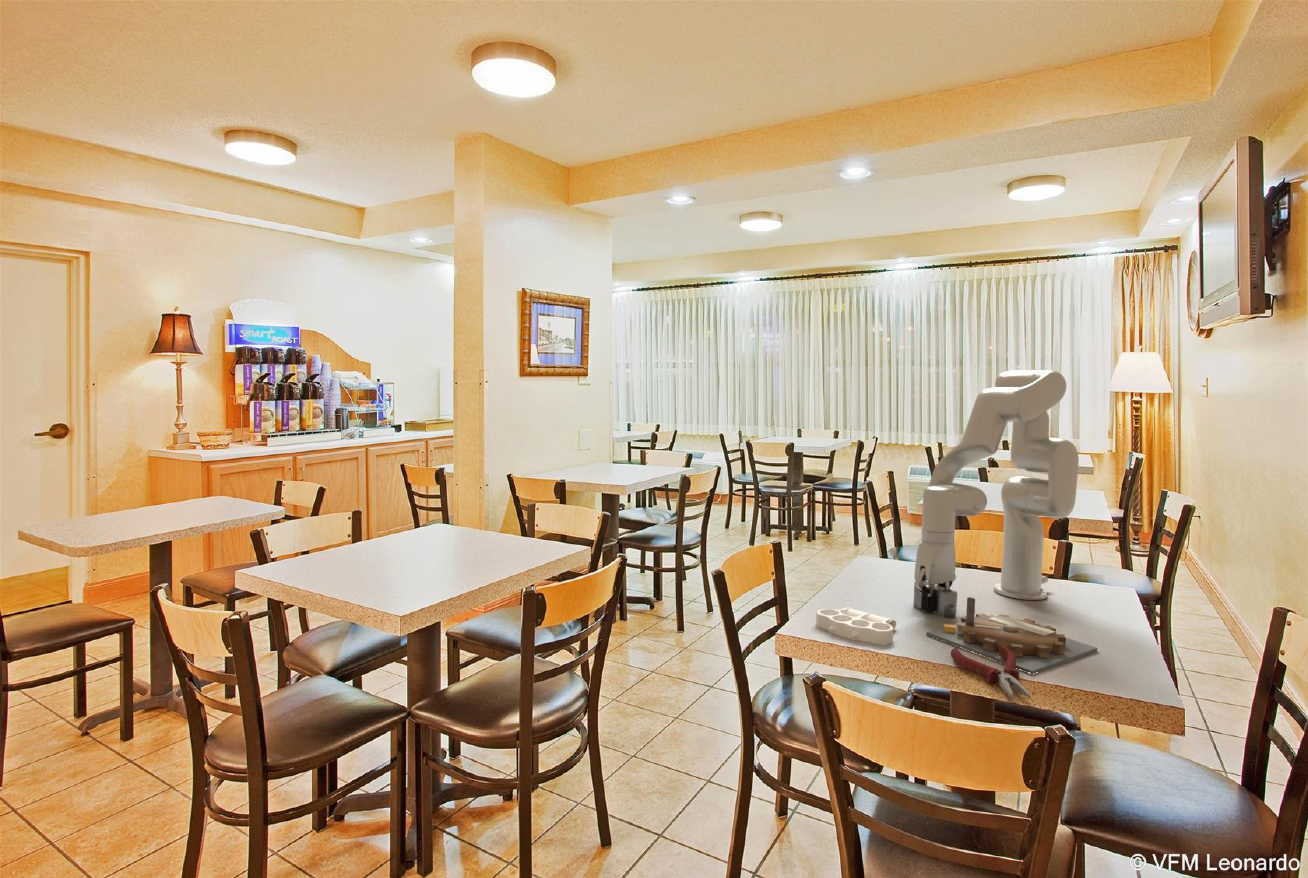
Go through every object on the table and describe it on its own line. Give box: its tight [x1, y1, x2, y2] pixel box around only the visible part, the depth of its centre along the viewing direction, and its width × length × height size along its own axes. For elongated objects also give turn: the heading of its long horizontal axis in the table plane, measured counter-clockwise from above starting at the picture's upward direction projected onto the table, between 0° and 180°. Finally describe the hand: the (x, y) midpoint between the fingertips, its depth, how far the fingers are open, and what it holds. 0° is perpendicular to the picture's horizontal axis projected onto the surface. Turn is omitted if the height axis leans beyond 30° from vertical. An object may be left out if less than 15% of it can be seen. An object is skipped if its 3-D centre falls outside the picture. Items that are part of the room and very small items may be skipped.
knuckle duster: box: [815, 606, 897, 645], centre depth 157 cm, size 3×18×15 cm
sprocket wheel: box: [957, 596, 1067, 658], centre depth 150 cm, size 21×21×8 cm
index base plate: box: [925, 613, 1098, 674], centre depth 150 cm, size 24×24×2 cm
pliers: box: [950, 646, 1032, 700], centre depth 131 cm, size 12×20×3 cm, turn 176°
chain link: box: [912, 581, 958, 619], centre depth 171 cm, size 3×11×6 cm, turn 31°
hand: (934, 608), depth 171 cm, fingers open, 4 cm apart
